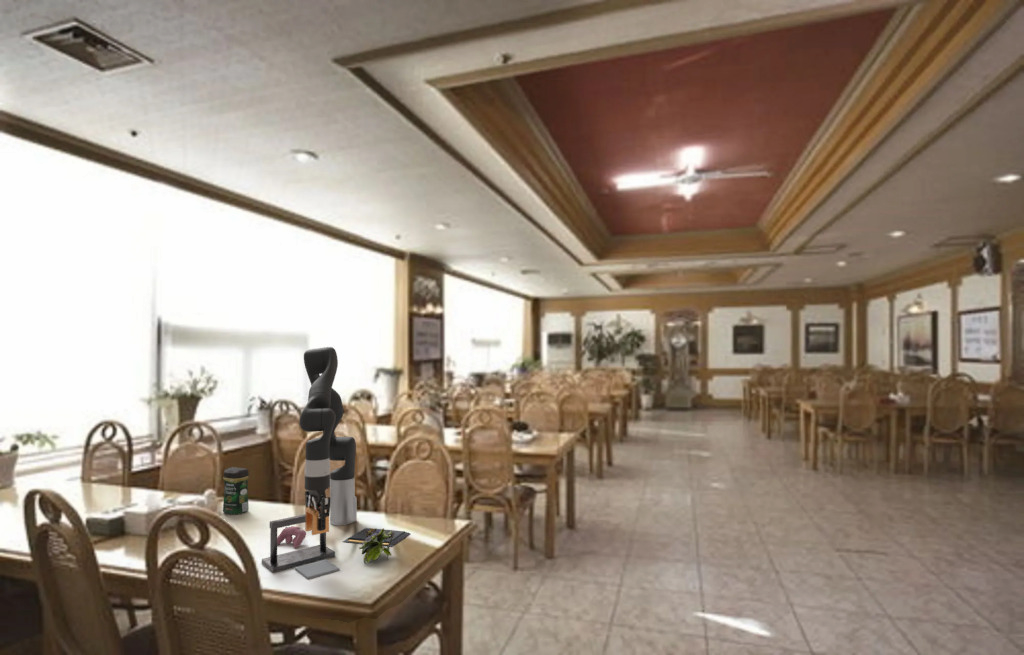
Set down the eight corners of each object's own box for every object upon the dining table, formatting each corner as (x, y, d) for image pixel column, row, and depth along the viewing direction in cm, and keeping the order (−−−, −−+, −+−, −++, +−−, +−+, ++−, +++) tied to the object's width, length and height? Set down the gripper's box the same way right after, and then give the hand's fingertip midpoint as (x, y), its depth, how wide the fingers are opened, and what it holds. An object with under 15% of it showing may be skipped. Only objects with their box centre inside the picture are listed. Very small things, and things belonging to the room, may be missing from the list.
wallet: (412, 530, 209) (391, 544, 195) (412, 535, 209) (391, 549, 195) (364, 525, 215) (340, 538, 201) (364, 530, 215) (340, 543, 201)
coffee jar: (219, 513, 236) (219, 468, 236) (234, 508, 243) (234, 465, 244) (237, 516, 232) (237, 470, 233) (252, 510, 240) (252, 466, 240)
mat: (325, 561, 183) (326, 559, 183) (339, 570, 175) (339, 568, 175) (294, 569, 176) (294, 567, 176) (307, 579, 169) (307, 577, 169)
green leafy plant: (370, 572, 187) (378, 535, 195) (398, 570, 183) (405, 533, 191) (349, 562, 180) (358, 524, 187) (377, 560, 175) (385, 521, 183)
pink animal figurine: (303, 550, 197) (310, 529, 201) (294, 548, 194) (301, 526, 197) (281, 546, 201) (288, 525, 204) (272, 544, 198) (279, 523, 201)
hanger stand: (261, 563, 181) (262, 519, 182) (322, 548, 194) (322, 507, 195) (272, 572, 174) (273, 526, 174) (335, 556, 187) (335, 513, 187)
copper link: (305, 530, 177) (305, 507, 177) (320, 527, 180) (321, 504, 180) (313, 535, 172) (313, 511, 172) (328, 531, 175) (329, 507, 176)
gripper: (339, 475, 174) (338, 530, 173) (319, 467, 185) (319, 520, 184) (315, 478, 169) (314, 536, 168) (296, 471, 180) (296, 525, 179)
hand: (317, 527), depth 176 cm, fingers closed on copper link, 6 cm apart
